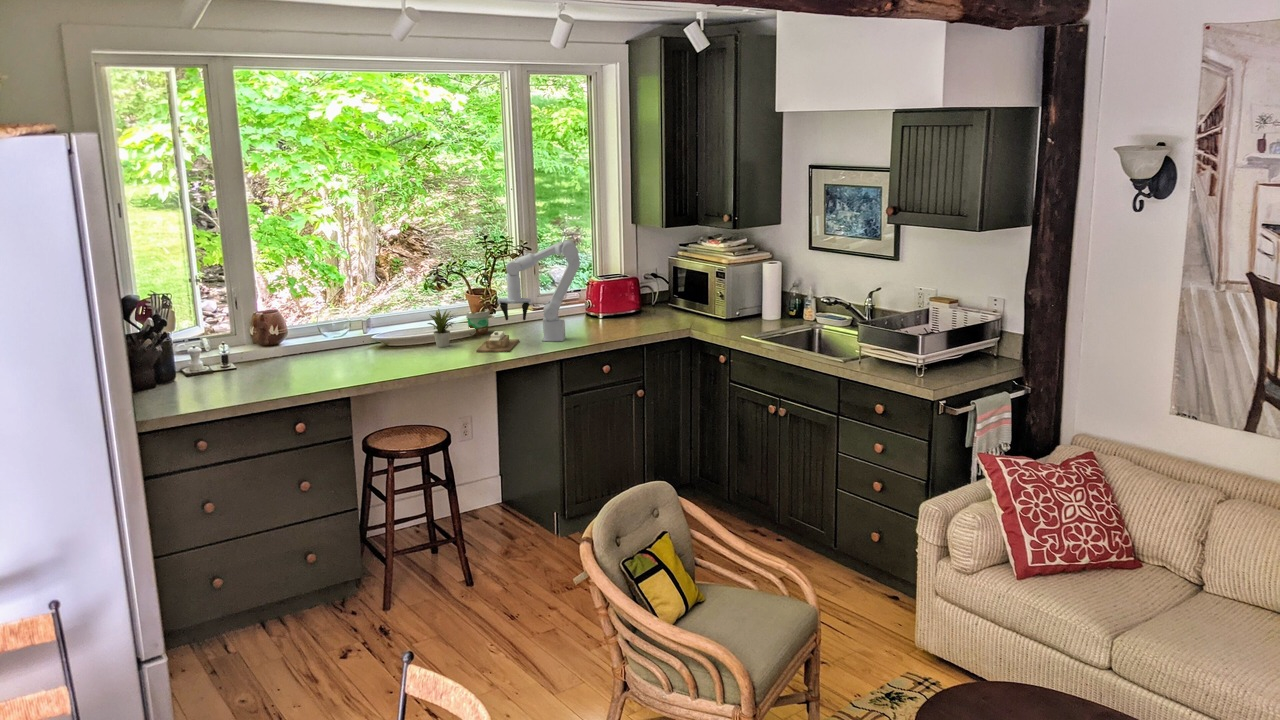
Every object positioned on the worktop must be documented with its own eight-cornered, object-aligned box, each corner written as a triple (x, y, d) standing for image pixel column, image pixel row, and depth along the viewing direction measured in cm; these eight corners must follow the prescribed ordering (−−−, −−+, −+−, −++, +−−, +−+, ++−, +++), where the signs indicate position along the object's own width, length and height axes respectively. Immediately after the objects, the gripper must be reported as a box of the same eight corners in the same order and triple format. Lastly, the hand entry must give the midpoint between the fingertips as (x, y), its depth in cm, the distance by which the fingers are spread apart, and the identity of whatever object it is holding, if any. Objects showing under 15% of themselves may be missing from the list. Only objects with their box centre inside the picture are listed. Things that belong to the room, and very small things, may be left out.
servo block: (505, 341, 433) (505, 328, 431) (499, 348, 420) (498, 335, 419) (496, 341, 433) (496, 328, 432) (489, 348, 421) (488, 335, 419)
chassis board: (519, 341, 436) (518, 332, 435) (509, 352, 417) (508, 343, 416) (487, 341, 437) (486, 332, 436) (476, 352, 418) (475, 343, 417)
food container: (476, 336, 446) (475, 314, 443) (467, 335, 449) (465, 313, 447) (496, 331, 455) (495, 310, 453) (487, 330, 459) (485, 308, 456)
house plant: (451, 351, 421) (449, 313, 417) (421, 350, 424) (418, 312, 420) (464, 343, 435) (461, 306, 431) (434, 342, 437) (431, 305, 433)
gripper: (495, 290, 427) (497, 321, 431) (528, 290, 426) (530, 321, 429) (498, 287, 434) (500, 318, 437) (532, 287, 433) (533, 318, 436)
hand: (515, 319), depth 434 cm, fingers open, 7 cm apart
